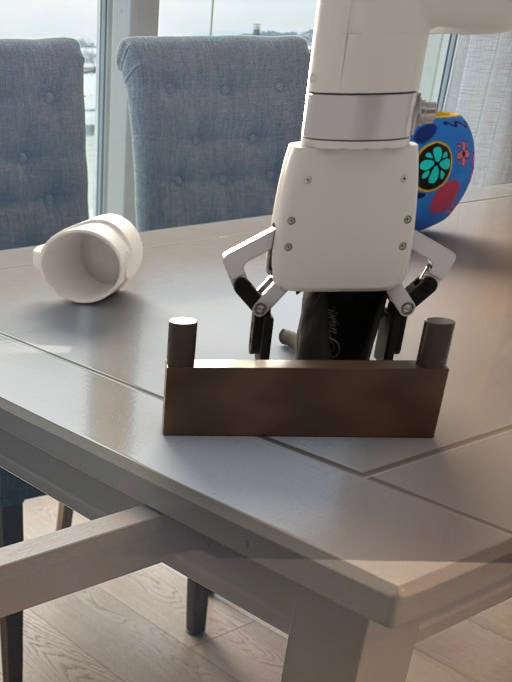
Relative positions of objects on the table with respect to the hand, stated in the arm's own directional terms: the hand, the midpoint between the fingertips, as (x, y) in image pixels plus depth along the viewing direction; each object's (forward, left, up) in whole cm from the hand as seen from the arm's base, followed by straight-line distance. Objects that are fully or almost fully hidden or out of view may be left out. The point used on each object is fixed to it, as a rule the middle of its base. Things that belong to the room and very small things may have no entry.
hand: (321, 362), depth 75 cm
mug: (+20, -33, -2) cm, 39 cm away
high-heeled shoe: (-1, -15, +5) cm, 16 cm away
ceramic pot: (-24, -72, -2) cm, 76 cm away
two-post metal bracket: (+3, +10, -2) cm, 10 cm away
